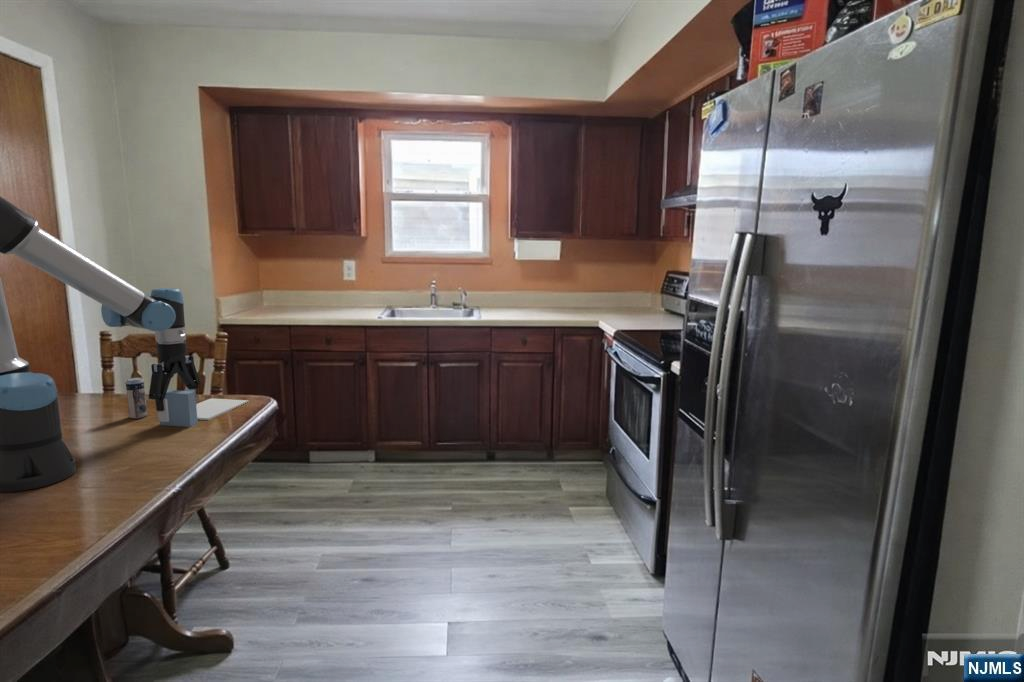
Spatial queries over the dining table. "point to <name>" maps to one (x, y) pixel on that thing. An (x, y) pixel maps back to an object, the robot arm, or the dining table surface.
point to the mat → (216, 407)
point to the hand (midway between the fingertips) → (178, 415)
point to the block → (181, 408)
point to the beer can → (136, 398)
